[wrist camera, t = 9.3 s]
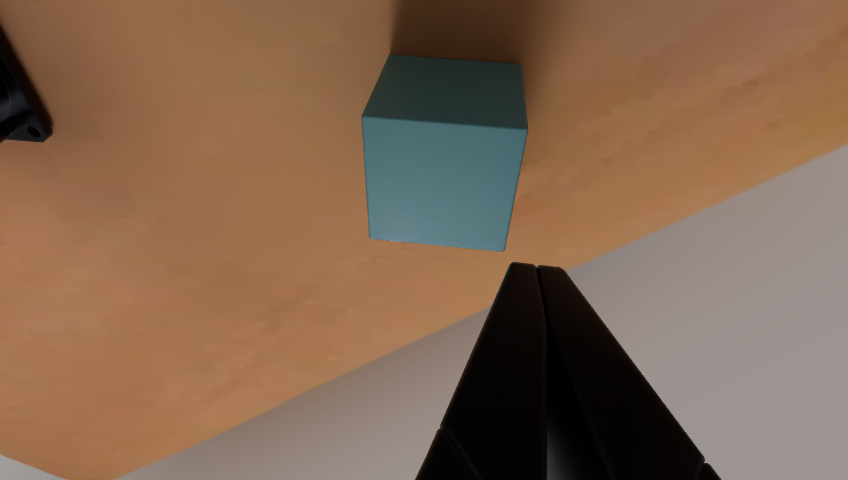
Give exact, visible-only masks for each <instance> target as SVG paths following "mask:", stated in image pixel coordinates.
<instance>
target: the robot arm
mask: <svg viewBox="0 0 848 480" xmlns="http://www.w3.org/2000/svg"><path fill="white" fill-rule="evenodd" d="M52 134H53V131H52V128H51V126H50V124H49V123H48V121H47V119H46V117H45V115H44V113H43V112H42V110H41V108H40V106H39V104H38V103H37V101H36V99H35V97H34V95H33V93H32V92H31V90H30V88H29V86H28V84H27V83H26V81H25V79H24V77H23V75H22V73H21V72H20V70H19V68H18V66H17V64H16V63H15V61H14V59H13V57H12V55H11V54H10V52H9V50H8V48H7V46H6V44H5V43H4V41H3V39H2V37H1V35H0V143H1V142H3V141H4V140H6V139H10V140H21V141H33V142H44V141H45V140H46V139H48V138H49V137H51V136H52ZM704 462H705V458H704V456H703V455H702V454H701V453H700V451H699V450H698V448H697V447H696V446H695V444H694V443H693V442H692V440H691V439H690V438H689V436H688V435H687V434H686V432H685V431H684V430H683V428H682V427H681V426H680V424H679V423H678V422H677V420H676V419H675V418H674V416H673V415H672V414H671V412H670V411H669V410H668V408H667V407H666V405H665V404H664V403H663V401H662V400H661V399H660V397H659V396H658V395H657V393H656V392H655V391H654V389H653V388H652V387H651V385H650V384H649V383H648V382H647V380H646V379H645V377H644V376H643V375H642V373H641V372H640V371H639V370H638V368H637V367H636V365H635V364H634V363H633V362H632V360H631V359H630V357H629V356H628V355H627V353H626V352H625V351H624V349H623V348H622V347H621V345H620V344H619V343H618V341H617V340H616V339H615V337H614V336H613V335H612V333H611V332H610V331H609V329H608V328H607V327H606V325H605V324H604V323H603V321H602V320H601V319H600V317H599V316H598V315H597V313H596V312H595V311H594V309H593V308H592V307H591V305H590V304H589V302H588V301H587V300H586V298H585V297H584V296H583V295H582V293H581V292H580V290H579V289H578V288H577V287H576V285H575V284H574V283H573V281H572V280H571V278H570V277H569V276H568V274H567V273H566V272H565V271H564V270H563V269H562V268H560V267H553V266H545V265H539V266H537V267H536V266H535V265H533V264H528V263H519V262H512V263H511V264H510V266H509V268H508V270H507V272H506V275H505V277H504V279H503V281H502V284H501V286H500V288H499V291H498V293H497V295H496V298H495V300H494V302H493V304H492V307H491V309H490V311H489V314H488V316H487V319H486V321H485V323H484V325H483V328H482V330H481V332H480V335H479V337H478V339H477V342H476V344H475V346H474V348H473V351H472V353H471V355H470V357H469V360H468V362H467V364H466V367H465V369H464V371H463V374H462V376H461V378H460V381H459V383H458V385H457V387H456V390H455V392H454V394H453V397H452V399H451V401H450V404H449V406H448V408H447V410H446V413H445V415H444V417H443V420H442V422H441V424H440V429H438V431H437V433H436V435H435V437H434V440H433V442H432V445H431V447H430V449H429V451H428V453H427V456H426V458H425V460H424V462H423V464H422V466H421V469H420V470H419V472H418V474H417V477H416V479H415V480H721V479H720V477H719V476H718V475H717V473H716V472H715V471H714V469H713V468H712V467H711V466H710V465H709V464H708V463H704Z"/></svg>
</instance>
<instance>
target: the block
mask: <svg viewBox="0 0 848 480" xmlns="http://www.w3.org/2000/svg"><path fill="white" fill-rule="evenodd" d="M362 131H363V147H364V162H365V177H366V193H367V208H368V223H369V237H370V239H377V240H388V241H398V242H408V243H419V244H429V245H439V246H449V247H460V248H470V249H480V250H490V251H501V252H504V250H505V246H506V241H507V236H508V231H509V226H510V221H511V216H512V210H513V205H514V200H515V195H516V190H517V185H518V180H519V174H520V169H521V164H522V159H523V154H524V149H525V144H526V139H527V133H528V124H527V114H526V104H525V94H524V84H523V74H522V65H521V64H515V63H501V62H487V61H474V60H460V59H446V58H432V57H418V56H404V55H389V56H388V58H387V61H386V63H385V65H384V67H383V70H382V72H381V74H380V76H379V79H378V81H377V83H376V85H375V87H374V90H373V92H372V94H371V96H370V99H369V101H368V103H367V105H366V108H365V110H364V112H363V114H362Z"/></svg>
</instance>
